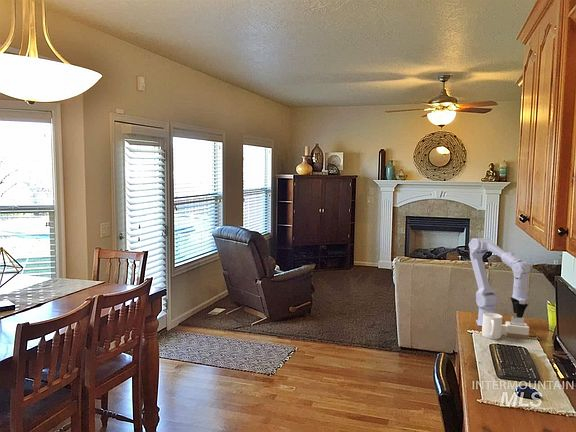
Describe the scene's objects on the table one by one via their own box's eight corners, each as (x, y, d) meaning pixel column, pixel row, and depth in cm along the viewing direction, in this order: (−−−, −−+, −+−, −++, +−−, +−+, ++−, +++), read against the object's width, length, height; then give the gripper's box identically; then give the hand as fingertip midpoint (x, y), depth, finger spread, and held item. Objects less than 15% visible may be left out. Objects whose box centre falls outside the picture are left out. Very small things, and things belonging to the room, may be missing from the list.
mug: (502, 343, 212) (503, 321, 211) (482, 340, 215) (484, 318, 214) (500, 335, 223) (501, 314, 223) (481, 332, 226) (482, 311, 225)
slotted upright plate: (483, 330, 230) (484, 319, 230) (525, 334, 226) (526, 323, 225) (485, 334, 224) (486, 323, 223) (528, 339, 219) (529, 327, 218)
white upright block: (510, 330, 225) (511, 316, 224) (522, 331, 224) (523, 317, 223) (511, 331, 223) (512, 317, 222) (523, 332, 222) (524, 318, 221)
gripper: (533, 291, 213) (530, 320, 215) (526, 284, 227) (523, 312, 228) (516, 289, 215) (513, 319, 216) (510, 283, 229) (508, 310, 230)
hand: (517, 315), depth 223 cm, fingers open, 7 cm apart
